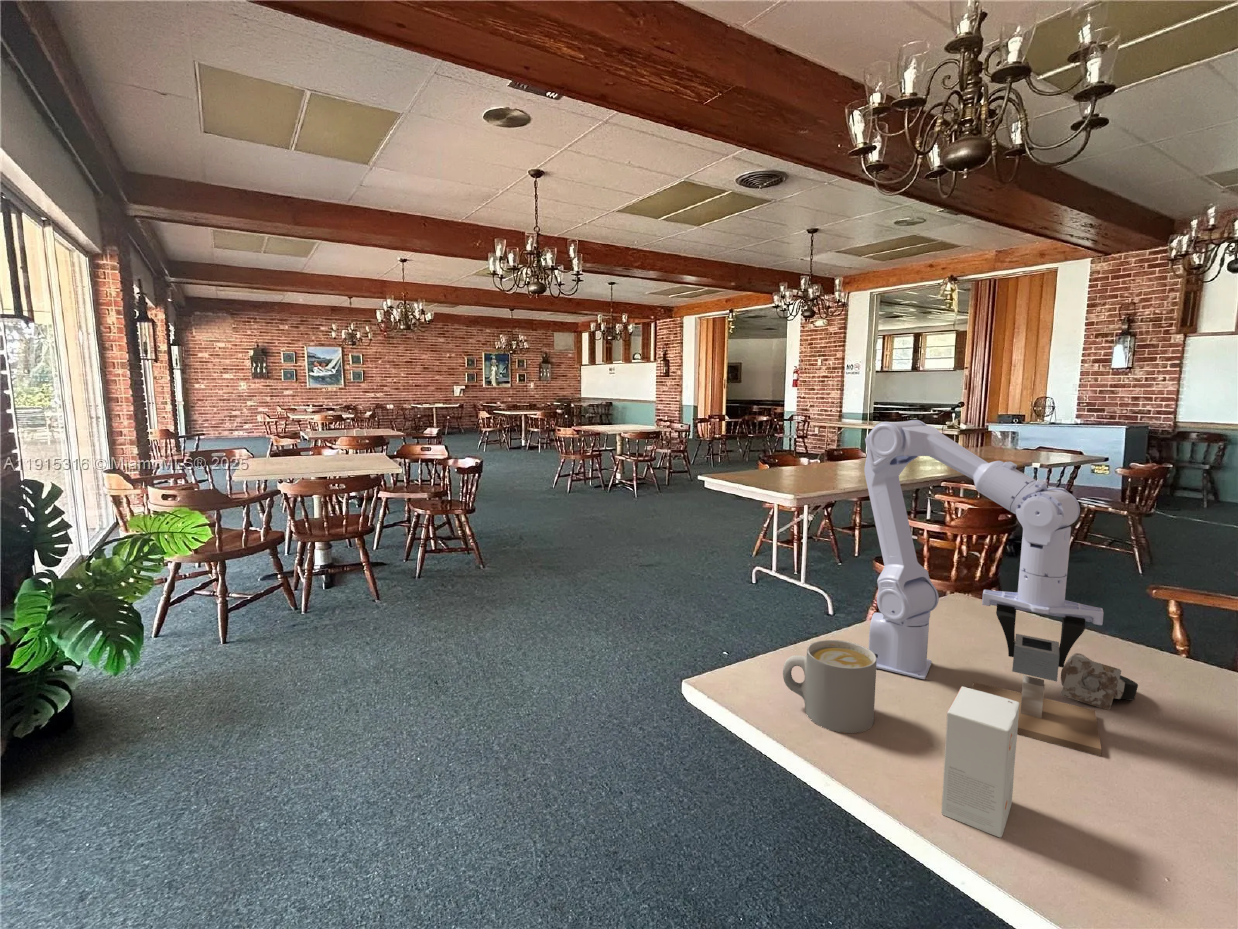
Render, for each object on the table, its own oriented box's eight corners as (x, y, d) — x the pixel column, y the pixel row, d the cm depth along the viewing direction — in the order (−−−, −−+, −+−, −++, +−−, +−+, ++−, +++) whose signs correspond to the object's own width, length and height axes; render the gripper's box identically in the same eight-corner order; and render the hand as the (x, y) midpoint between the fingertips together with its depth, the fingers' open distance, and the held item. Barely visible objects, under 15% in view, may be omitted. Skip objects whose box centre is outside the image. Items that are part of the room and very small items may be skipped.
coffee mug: (881, 711, 94) (884, 650, 93) (862, 741, 86) (865, 675, 85) (797, 686, 102) (799, 629, 101) (773, 711, 94) (775, 650, 93)
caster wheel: (1115, 700, 102) (1146, 723, 92) (1039, 676, 105) (1062, 696, 95) (1126, 662, 101) (1159, 681, 92) (1050, 640, 105) (1073, 656, 95)
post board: (965, 720, 91) (968, 682, 91) (973, 687, 101) (975, 653, 100) (1100, 756, 82) (1104, 715, 81) (1094, 716, 92) (1098, 679, 91)
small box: (954, 780, 78) (961, 684, 76) (1012, 802, 74) (1021, 701, 72) (939, 815, 71) (945, 711, 70) (1001, 840, 67) (1010, 731, 66)
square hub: (1012, 671, 90) (1014, 646, 89) (1013, 658, 94) (1015, 633, 94) (1056, 681, 87) (1059, 655, 86) (1056, 667, 91) (1058, 642, 91)
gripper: (983, 570, 90) (976, 657, 91) (1108, 588, 81) (1099, 683, 83) (986, 558, 95) (980, 641, 97) (1104, 574, 87) (1095, 664, 89)
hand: (1035, 659), depth 90 cm, fingers closed on square hub, 5 cm apart
